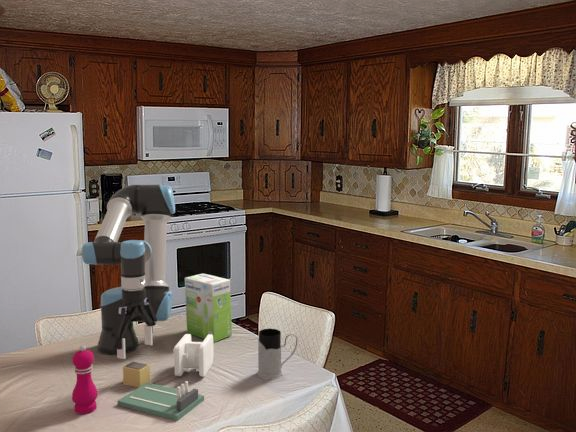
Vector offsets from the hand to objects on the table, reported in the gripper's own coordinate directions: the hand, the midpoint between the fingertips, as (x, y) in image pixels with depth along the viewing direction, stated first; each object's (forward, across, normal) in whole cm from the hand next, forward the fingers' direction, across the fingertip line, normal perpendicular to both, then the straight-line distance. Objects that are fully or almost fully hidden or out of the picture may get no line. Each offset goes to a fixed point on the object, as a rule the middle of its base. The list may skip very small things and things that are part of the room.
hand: (135, 351), depth 182 cm
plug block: (+11, 0, 0) cm, 11 cm away
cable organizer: (+11, +16, -12) cm, 23 cm away
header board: (+11, -8, -16) cm, 21 cm away
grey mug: (+11, +28, -39) cm, 49 cm away
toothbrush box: (+11, +50, +3) cm, 51 cm away
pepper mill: (+12, -20, +2) cm, 24 cm away
